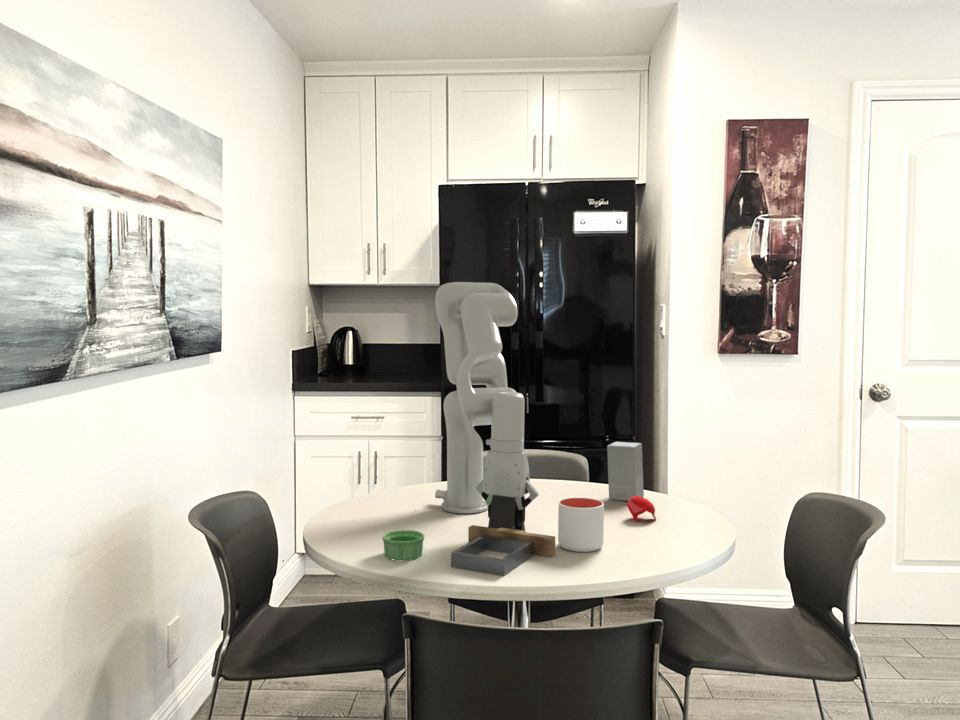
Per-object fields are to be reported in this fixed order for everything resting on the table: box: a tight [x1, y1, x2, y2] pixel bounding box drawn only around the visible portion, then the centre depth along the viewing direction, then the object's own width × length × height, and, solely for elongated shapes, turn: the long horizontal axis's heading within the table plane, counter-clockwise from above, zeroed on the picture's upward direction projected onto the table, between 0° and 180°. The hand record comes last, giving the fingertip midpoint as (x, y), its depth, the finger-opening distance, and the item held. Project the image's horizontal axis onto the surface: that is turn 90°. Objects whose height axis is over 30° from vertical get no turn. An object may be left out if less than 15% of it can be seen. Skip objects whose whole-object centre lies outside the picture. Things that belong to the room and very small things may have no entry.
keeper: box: [450, 534, 534, 577], centre depth 166 cm, size 12×15×3 cm
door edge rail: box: [467, 524, 556, 558], centre depth 174 cm, size 20×2×4 cm, turn 64°
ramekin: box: [382, 529, 425, 561], centre depth 170 cm, size 9×9×4 cm
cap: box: [626, 496, 657, 523], centre depth 199 cm, size 8×6×6 cm
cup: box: [557, 497, 605, 553], centre depth 176 cm, size 10×10×10 cm
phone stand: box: [487, 495, 526, 532], centre depth 182 cm, size 9×6×12 cm, turn 155°
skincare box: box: [606, 441, 645, 502], centre depth 221 cm, size 8×7×16 cm
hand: (506, 522), depth 182 cm, fingers closed on phone stand, 6 cm apart
